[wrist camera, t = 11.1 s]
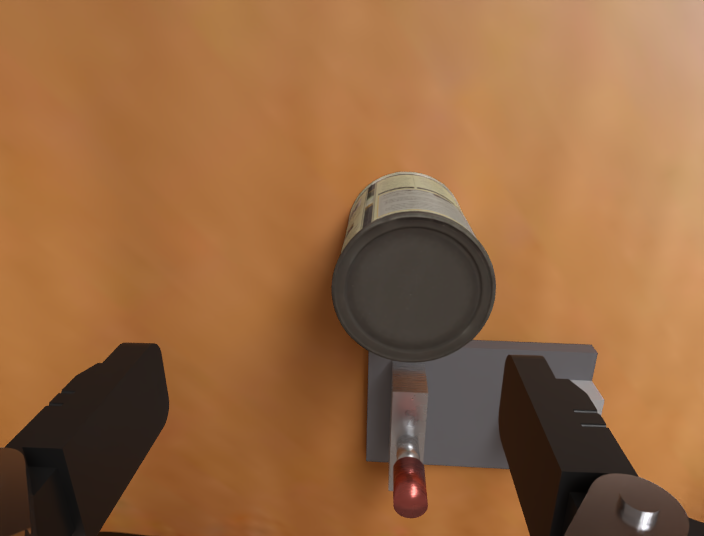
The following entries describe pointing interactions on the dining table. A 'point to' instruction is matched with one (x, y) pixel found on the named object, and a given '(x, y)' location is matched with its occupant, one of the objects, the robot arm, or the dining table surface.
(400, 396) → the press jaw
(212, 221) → the dining table surface
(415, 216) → the coffee can
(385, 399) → the nutcracker bench
